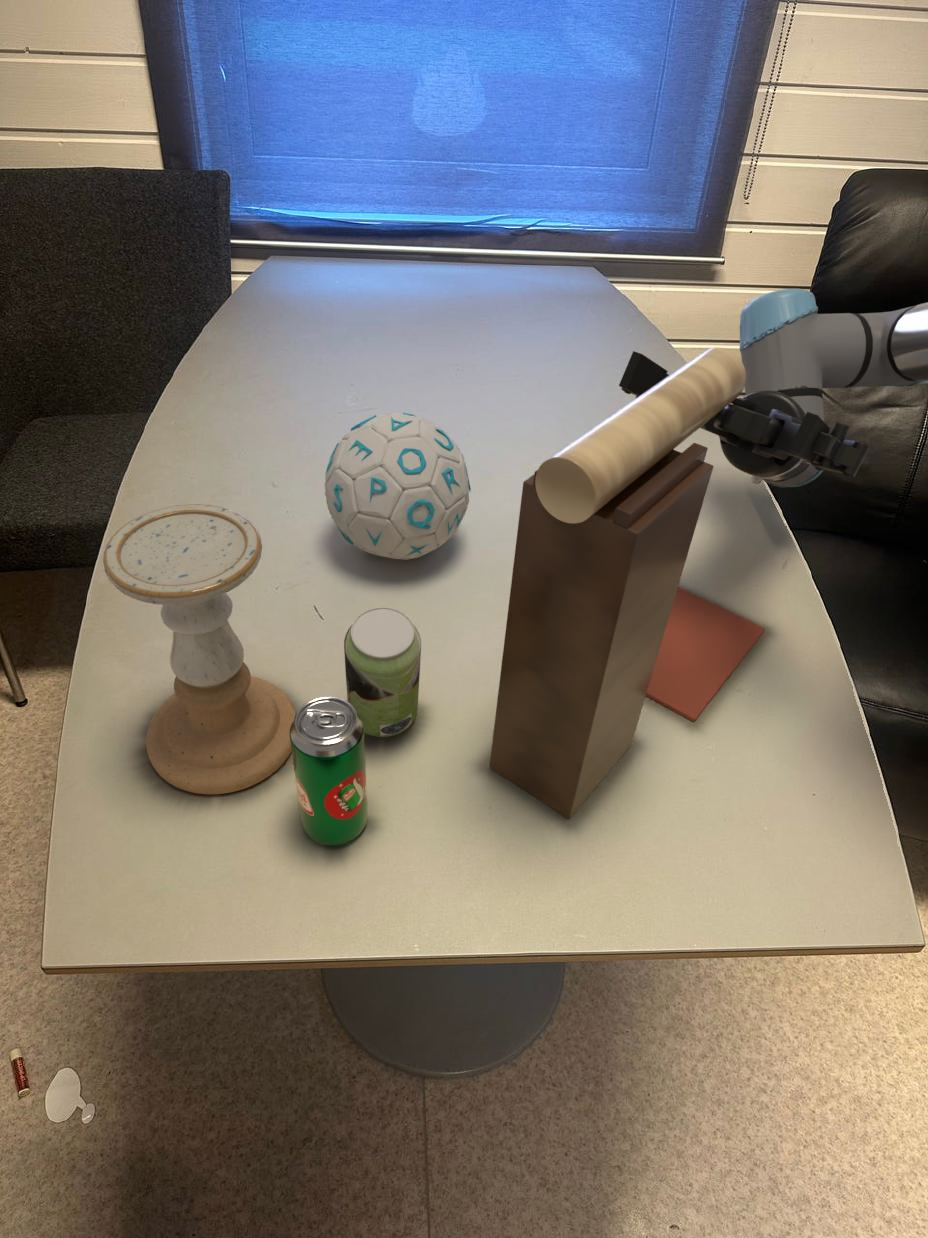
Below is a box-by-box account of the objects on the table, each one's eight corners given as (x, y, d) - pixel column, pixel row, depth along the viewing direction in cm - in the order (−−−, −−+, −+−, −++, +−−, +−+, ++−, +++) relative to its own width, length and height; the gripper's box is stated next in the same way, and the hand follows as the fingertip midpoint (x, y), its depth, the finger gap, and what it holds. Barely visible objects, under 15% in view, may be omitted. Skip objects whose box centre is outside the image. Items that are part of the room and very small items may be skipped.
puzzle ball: (306, 570, 87) (295, 444, 77) (358, 495, 98) (354, 376, 88) (444, 601, 84) (451, 475, 74) (481, 520, 95) (491, 401, 85)
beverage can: (407, 684, 75) (408, 583, 67) (430, 745, 70) (434, 644, 62) (339, 698, 74) (332, 596, 66) (357, 761, 69) (352, 659, 60)
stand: (631, 745, 71) (718, 451, 52) (569, 820, 65) (641, 519, 46) (554, 700, 75) (609, 408, 56) (488, 767, 69) (524, 466, 49)
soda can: (303, 796, 66) (289, 693, 58) (367, 792, 66) (362, 690, 58) (300, 852, 62) (286, 750, 54) (368, 847, 63) (363, 746, 55)
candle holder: (306, 685, 75) (286, 497, 61) (288, 798, 65) (259, 607, 52) (168, 682, 74) (117, 492, 61) (130, 795, 65) (59, 601, 51)
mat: (764, 631, 83) (765, 628, 83) (693, 722, 74) (694, 719, 74) (659, 580, 89) (660, 577, 88) (580, 659, 79) (581, 656, 79)
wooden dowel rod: (686, 392, 60) (700, 339, 57) (737, 411, 58) (753, 357, 56) (531, 507, 48) (539, 446, 45) (589, 534, 46) (601, 473, 44)
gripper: (882, 526, 73) (858, 515, 55) (636, 429, 84) (549, 393, 66) (925, 446, 71) (915, 407, 53) (667, 357, 82) (586, 299, 64)
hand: (712, 399), depth 59 cm, fingers open, 13 cm apart
